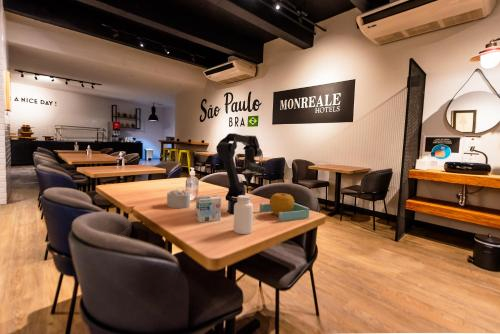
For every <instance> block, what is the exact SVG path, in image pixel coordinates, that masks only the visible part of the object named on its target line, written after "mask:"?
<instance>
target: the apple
mask: <svg viewBox="0 0 500 334" xmlns="http://www.w3.org/2000/svg"><path fill="white" fill-rule="evenodd" d="M294 203H295V199H294V196H292V195H291V194H288V193H282V192H281V193H279V192H277V193H274V194H272V196H270V199H269V204H270V207H271V210H272V211H271V212H272V214H274V215H275V216H277V217H279V212H282V213H284V212H291V211H292V209H293V207H294Z"/></svg>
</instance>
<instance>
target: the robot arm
mask: <svg viewBox="0 0 500 334" xmlns="http://www.w3.org/2000/svg"><path fill="white" fill-rule="evenodd" d="M238 143H240V144H241V143H242V145H243V146H244V147H243V148H242V149H243V150H244V158H243V160H242V161H244V162H243V163H244V164H243V166H242V167H241V166H236V164H235V160H234V156H235V154H236V149H237V147H238ZM215 149H216V153H217V155H218V157H219V158H220V159H221V160H222V161H223V164H224V167H225V171H226V175H227V179H228V183H229V187H228V191H227V194H226V195H225V197H224V198H225V201H227V204H228V205H227V210H226V212H227V213H228V214H230V215H234V205H235V203H236V202H238V201H237V197H238V196H240V195H246V190H245V189H246V187H245V184H244V183H243V182H241V181H240V180H239V177H238V174H242V175H243V177H244V179H245V181H246V185H248V186H251V185H250V184H251V182H252V179H253V177H254V176H255V175H257V173H258V172H260V173H266V168H265V167H264V166H263V163H261V162H258V163H257V161H256V159H255V158H260V157H261V156H262V154H263V151H262V149H261V148H260V144H259V140H258V137H257V135H248V134H247V135H246V134H245V135H242V134H238V133H236V132H235V133H227V135H226V136H225V137H223V139H220V140H219V142H218V143H217V145H216V147H215Z"/></svg>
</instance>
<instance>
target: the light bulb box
mask: <svg viewBox="0 0 500 334" xmlns="http://www.w3.org/2000/svg"><path fill="white" fill-rule="evenodd" d="M221 210H222V197H220V196H218V195H206V196H196V199H195V219H196V221H197V222H199V223H207V222H218V221H221V213H222V211H221Z"/></svg>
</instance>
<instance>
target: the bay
mask: <svg viewBox="0 0 500 334" xmlns="http://www.w3.org/2000/svg"><path fill="white" fill-rule="evenodd" d="M259 212H260V213H266V212H272V210H271V207H270V203H259ZM277 217H278V219H277V221H278V222H279V223H280V222H281V223H282V222H288V221H296V220H302V219H309V218H310V207H307V206H304V205H301V204H298V203H296V202H294V207H293V209H292V211H291V212H284V213H282V212H279V216H277Z"/></svg>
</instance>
